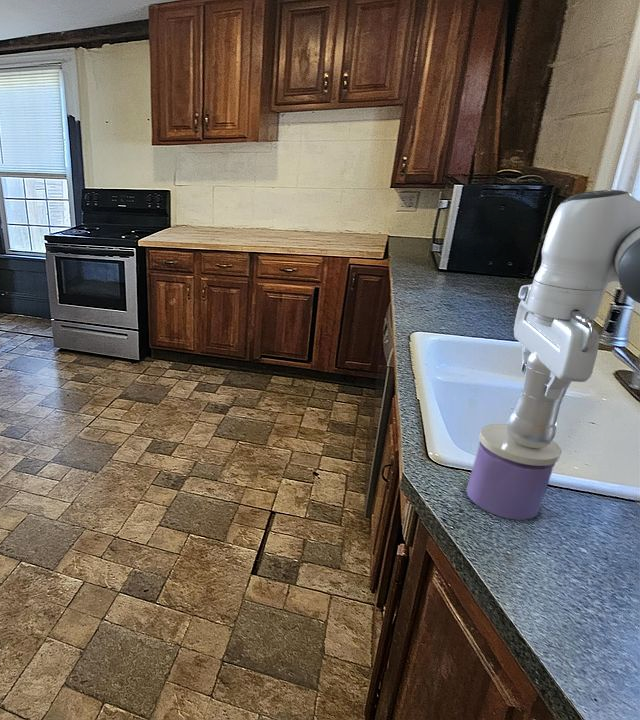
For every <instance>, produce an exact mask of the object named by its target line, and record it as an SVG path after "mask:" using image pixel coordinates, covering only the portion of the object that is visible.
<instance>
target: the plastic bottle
mask: <svg viewBox="0 0 640 720" xmlns="http://www.w3.org/2000/svg"><path fill="white" fill-rule="evenodd" d="M550 375H551V371H550V370H549V369H548V368H547V367H546V366H545V365H544V364H543V363H542V362H541V361H540V359H539V356H538V353H537V352H536V351H533V352H532V353H531V354H530V356H529V357H528V361H527V367H526V374H524V380H523V385H522V390H521V393H520V396H519V398H518V401H517V403H516V406H515V408H514V410H513V412H512V413H511V415H510V416H509V418H508V420H507V422H506V424H507V429H506V432H507V434H508V436H509V438H510V439H511V440H512V441H514V442H516V443H518V444H520V445H523V446H526V447H531V448H544V447H546V446H548V445H549V444H550V443H551V442H552V440H553V441H554V439H555V437H556V432H557V424H558V423H557V421H558V417H559V413H560V408H561V405H562V402H563V400H564V398H565V396H566V393H567V390H568V388H569V387H570V385H571V383H572V382H573V381H570V382H569V383H568V384H567V385H566V386H565V387H564V388H563V389H562V391H561V394H560V397H559V398H558V399H548V398H547V397H546V396H545V395H544V394H543V390H544V386H545V384H548V383H549V382H550V380H551V379H552V378H551V377H550Z"/></svg>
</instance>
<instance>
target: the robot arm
mask: <svg viewBox="0 0 640 720" xmlns="http://www.w3.org/2000/svg"><path fill="white" fill-rule="evenodd" d="M611 282H612V283H613V282H617V283H619V285H620V287H621V289H622V291H623V292H624V293H625V294H626V296H627V297H629V298H630V299H631V300H633V301H634V302H636V303H638V304H640V200H638V199H637V198H635V197H634V196H633V195H632V194H631V193H630V192H629V191H627V190H621V189H609V190H608V189H603V190H593V191H585V192H581V193H575V194H573V195H570V196H569V197H567V198H565V199H564V200H563V201H561V202H560V204H559V205H558V206H557V208H556V209H555V211H554V213H553V216H552V218H551V221H550V223H549V225H548V228H547V231H546V234H545V236H544V241H543V245H542V247H541V262H540V266H539V268H538V270H537V271H536V273H535V274H534V277H533V279H532V283H531V284H524V285H522V286H520V288H519V291H518V295H517V297H518V298H519V300H520V301H519V303H518V306H517V311H516V315H515V319H514V325H513V336H514V339H516V340H517V341H518V342H519V343H520V344H521V345H522V348H521V366H520V371H521V372H522V373H523V374H524V375H526V367H527V361H528V357H529V356H530V354H531V353H532V352H533V351H536V352H537V353H538V356H539V359H540V361H541V362H542V363H543V364H544V365H545V366H546V367H547V368H548V369H549V370H550V371H551V375H550V377H551V378H552V379H551V380H550V382H549V383H548V384H545V386H544V390H543V394H544V395H545V396H546V397H547V398H548V399H558V398H559V397H560V394H561V391H562V389H563V388H564V387H565V386H566V385H567V384H568V383H569V382H570V381H572V382H573V383H586V382H587V381H588V380H589V379H590V378H591V377H592V374H593V371H594V367H595V364H596V361H597V356H598V352H599V345H600V334H599V332H598V331H597V330H596V329H595V327H594V326H595V325H594V323H595V322H594V320H595V319H596V318H597V317H598V314H599V310H600V308H601V305H602V302H603V298H604V296H605V292H606V290H607V287H608V284H609V283H611Z"/></svg>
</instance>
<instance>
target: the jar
mask: <svg viewBox="0 0 640 720" xmlns="http://www.w3.org/2000/svg"><path fill="white" fill-rule="evenodd" d="M506 429H507V423H491V424H486V425H484V426H483V427H482V428H481V429H480V432H479V436H478V438H479V443H478V446H477V450H476V453H475V456H474V461H473V464H472V467H471V471H470V475H469V478H468V482H467V485H466V490H465V491H466V494H467V496H468V498H469V500H470V501H471V502H473V503H474V504H475V505H476V506H477V507H479V508H481V509H482V510H484V511H486V512H488V513H491V514H492V515H495V516H498V517H501V518H504V519H510V520H516V521H526V520H531V519H533V518H535V517H536V516H537V515H538V514H539V511H540V508H541V505H542V502H543V499H544V496H545V494H546V490H547V488H548V486H549V482H550V479H551V478H552V477H551V476H552V473H553V471H554V468H555V466H556V464H557V463H558V462H559V460H560V457H561V455H562V448H561V447H560V445H559V444H558V443H557V442H556V441H555V440H554V439H553V440H552V442H551V443H550V444H549V445H548V446H546V447H544V448H531V447H526V446H523V445H520V444H518V443H516V442H514V441H512V440H511V439H510V438H509V436H508V434H507V432H506Z"/></svg>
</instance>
